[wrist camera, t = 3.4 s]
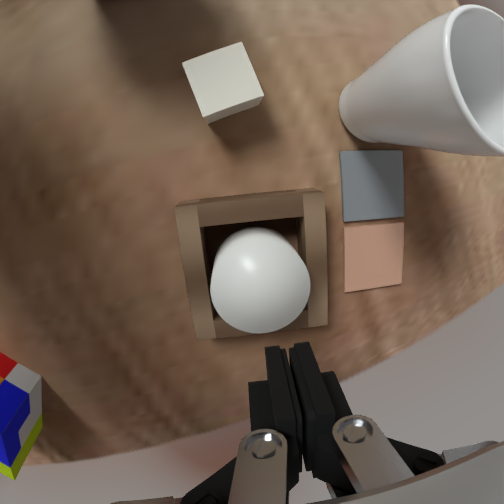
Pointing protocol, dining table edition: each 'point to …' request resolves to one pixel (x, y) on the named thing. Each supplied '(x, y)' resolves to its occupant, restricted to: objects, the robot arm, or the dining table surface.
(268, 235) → the dome button
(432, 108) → the drinking glass
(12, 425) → the puzzle toy
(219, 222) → the button frame
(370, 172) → the pad mid
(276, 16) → the dining table surface
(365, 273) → the pad
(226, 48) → the white cube
